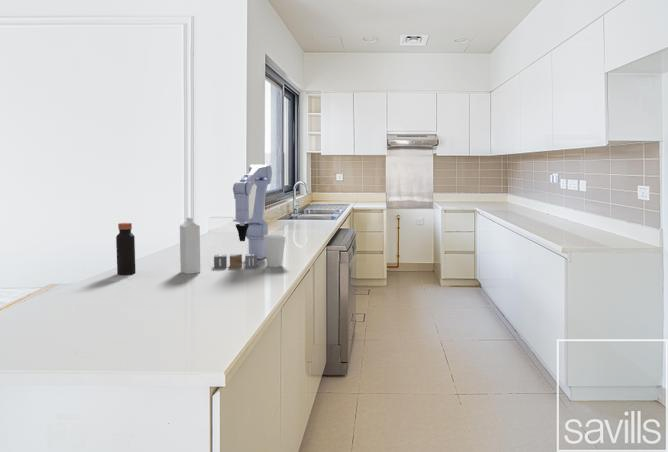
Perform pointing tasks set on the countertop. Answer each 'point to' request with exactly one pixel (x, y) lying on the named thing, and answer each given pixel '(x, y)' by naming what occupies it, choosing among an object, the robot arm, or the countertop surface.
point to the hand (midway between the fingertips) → (242, 240)
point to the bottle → (125, 250)
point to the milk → (190, 247)
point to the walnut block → (236, 261)
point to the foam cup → (274, 249)
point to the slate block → (250, 260)
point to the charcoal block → (220, 261)
